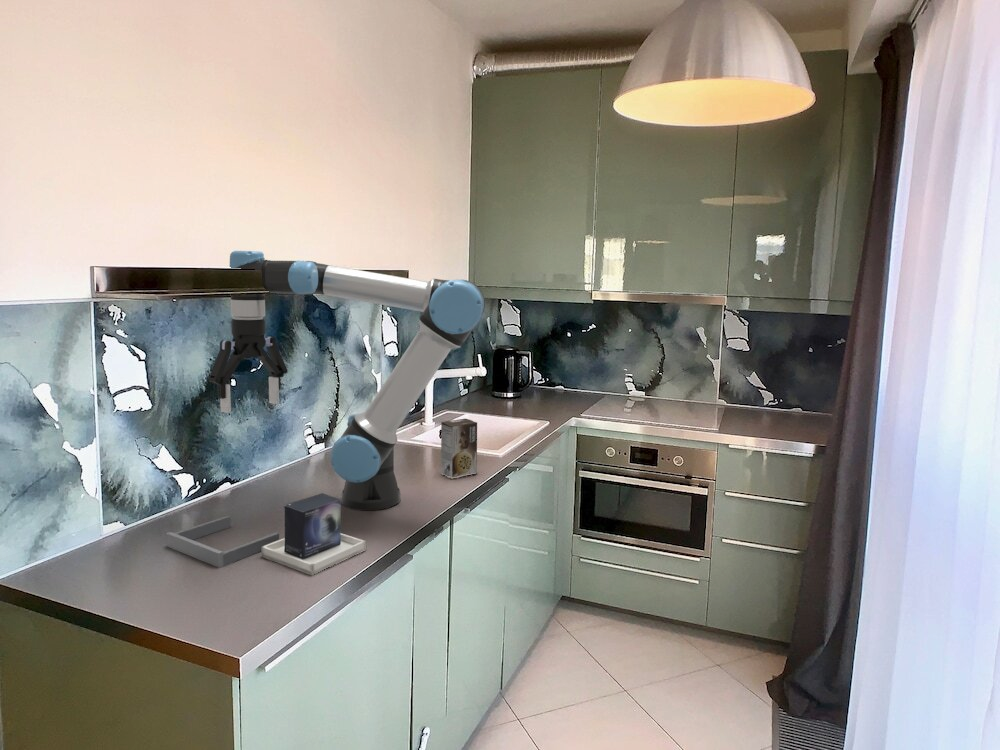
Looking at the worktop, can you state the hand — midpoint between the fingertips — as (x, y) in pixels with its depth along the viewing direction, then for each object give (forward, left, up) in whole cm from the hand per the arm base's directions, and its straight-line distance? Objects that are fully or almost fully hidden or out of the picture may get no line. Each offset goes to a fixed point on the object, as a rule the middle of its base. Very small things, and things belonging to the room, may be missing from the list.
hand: (250, 407), depth 165 cm
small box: (+7, +28, -26) cm, 39 cm away
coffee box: (-58, +19, -27) cm, 67 cm away
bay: (+15, +10, -27) cm, 32 cm away
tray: (+7, +29, -27) cm, 40 cm away
